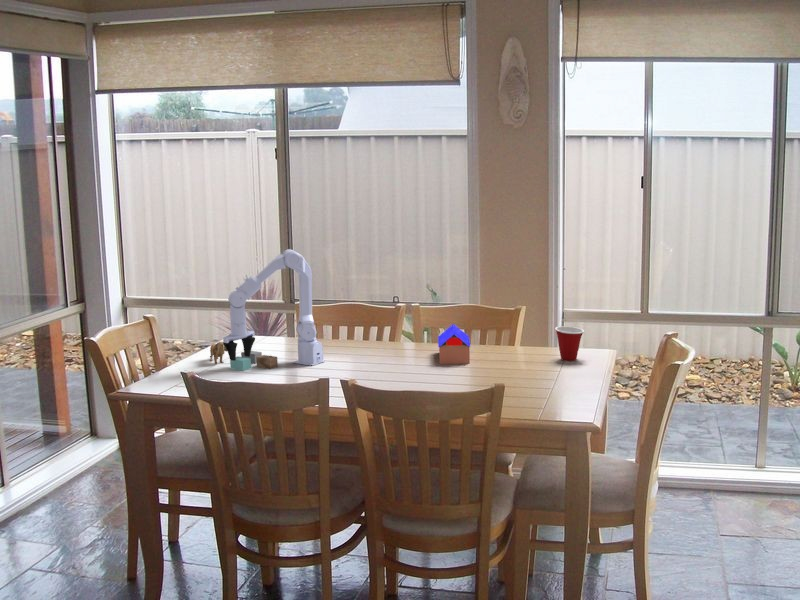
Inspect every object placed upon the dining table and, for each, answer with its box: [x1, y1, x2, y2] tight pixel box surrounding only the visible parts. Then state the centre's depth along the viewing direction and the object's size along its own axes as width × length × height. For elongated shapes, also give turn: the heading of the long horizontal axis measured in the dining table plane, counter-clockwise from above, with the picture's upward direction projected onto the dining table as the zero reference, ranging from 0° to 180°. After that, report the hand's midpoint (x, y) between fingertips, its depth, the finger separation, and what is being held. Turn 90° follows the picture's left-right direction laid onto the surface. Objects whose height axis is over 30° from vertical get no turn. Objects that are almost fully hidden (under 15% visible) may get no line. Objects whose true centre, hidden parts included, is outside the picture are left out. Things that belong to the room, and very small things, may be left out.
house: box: [437, 323, 471, 365], centre depth 346 cm, size 12×20×12 cm, turn 178°
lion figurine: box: [209, 341, 228, 366], centre depth 349 cm, size 15×5×9 cm, turn 34°
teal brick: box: [229, 356, 252, 372], centre depth 338 cm, size 7×4×4 cm, turn 53°
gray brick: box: [240, 350, 263, 365], centre depth 348 cm, size 7×4×4 cm, turn 57°
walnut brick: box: [256, 354, 279, 370], centre depth 339 cm, size 7×4×4 cm, turn 57°
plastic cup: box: [555, 325, 585, 362], centre depth 339 cm, size 11×11×12 cm
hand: (240, 358), depth 337 cm, fingers open, 7 cm apart
